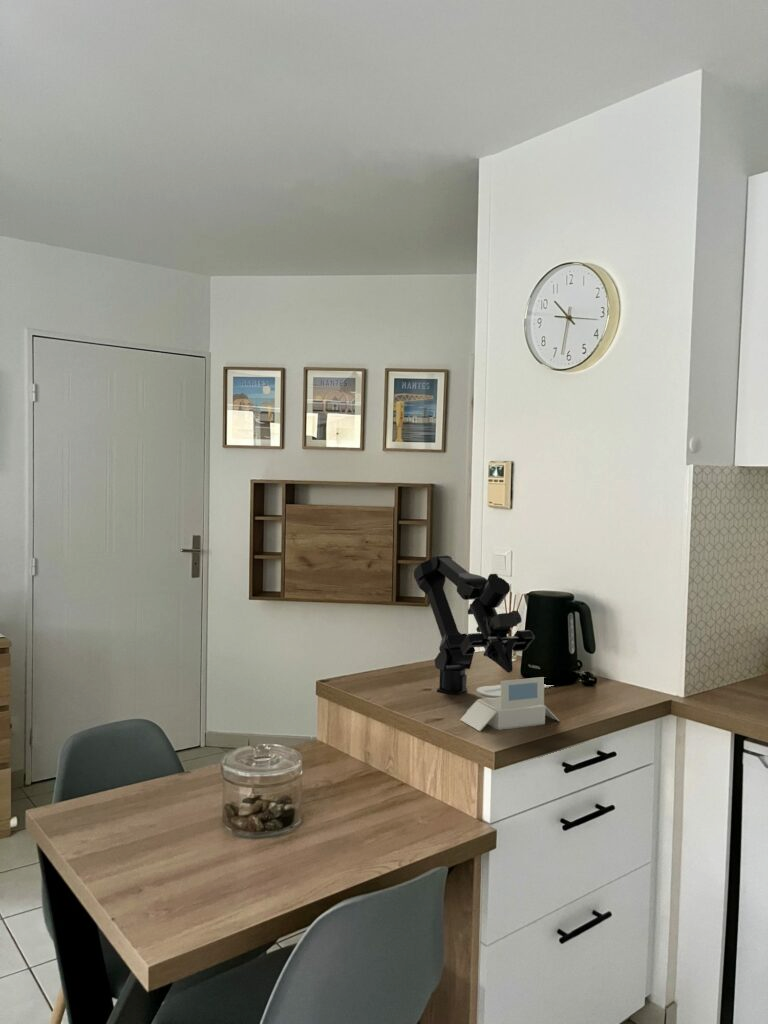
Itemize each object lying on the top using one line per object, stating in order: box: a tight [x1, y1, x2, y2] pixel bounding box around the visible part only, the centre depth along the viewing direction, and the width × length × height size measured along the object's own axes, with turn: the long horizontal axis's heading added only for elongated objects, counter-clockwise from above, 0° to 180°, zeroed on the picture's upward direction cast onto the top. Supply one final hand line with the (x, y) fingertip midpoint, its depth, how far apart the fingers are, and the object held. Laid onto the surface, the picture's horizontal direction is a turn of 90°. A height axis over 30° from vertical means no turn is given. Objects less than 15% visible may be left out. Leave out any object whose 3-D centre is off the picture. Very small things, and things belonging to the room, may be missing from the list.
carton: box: [476, 697, 547, 731], centre depth 188 cm, size 10×13×4 cm
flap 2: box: [545, 706, 560, 722], centre depth 191 cm, size 9×6×1 cm
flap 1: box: [460, 700, 497, 732], centre depth 184 cm, size 9×6×1 cm
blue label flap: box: [500, 676, 545, 709], centre depth 183 cm, size 6×12×1 cm
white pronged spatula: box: [476, 684, 554, 698], centre depth 219 cm, size 28×1×10 cm
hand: (510, 671), depth 188 cm, fingers closed
